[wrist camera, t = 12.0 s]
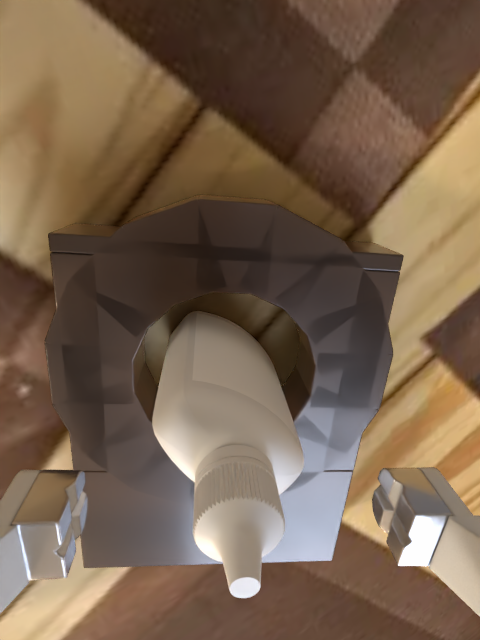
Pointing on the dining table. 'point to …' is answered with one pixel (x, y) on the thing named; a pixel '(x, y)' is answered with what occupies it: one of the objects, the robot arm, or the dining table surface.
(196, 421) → the eye dropper bottle
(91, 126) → the dining table surface
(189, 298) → the grey ring plate
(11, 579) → the robot arm
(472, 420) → the dining table surface
